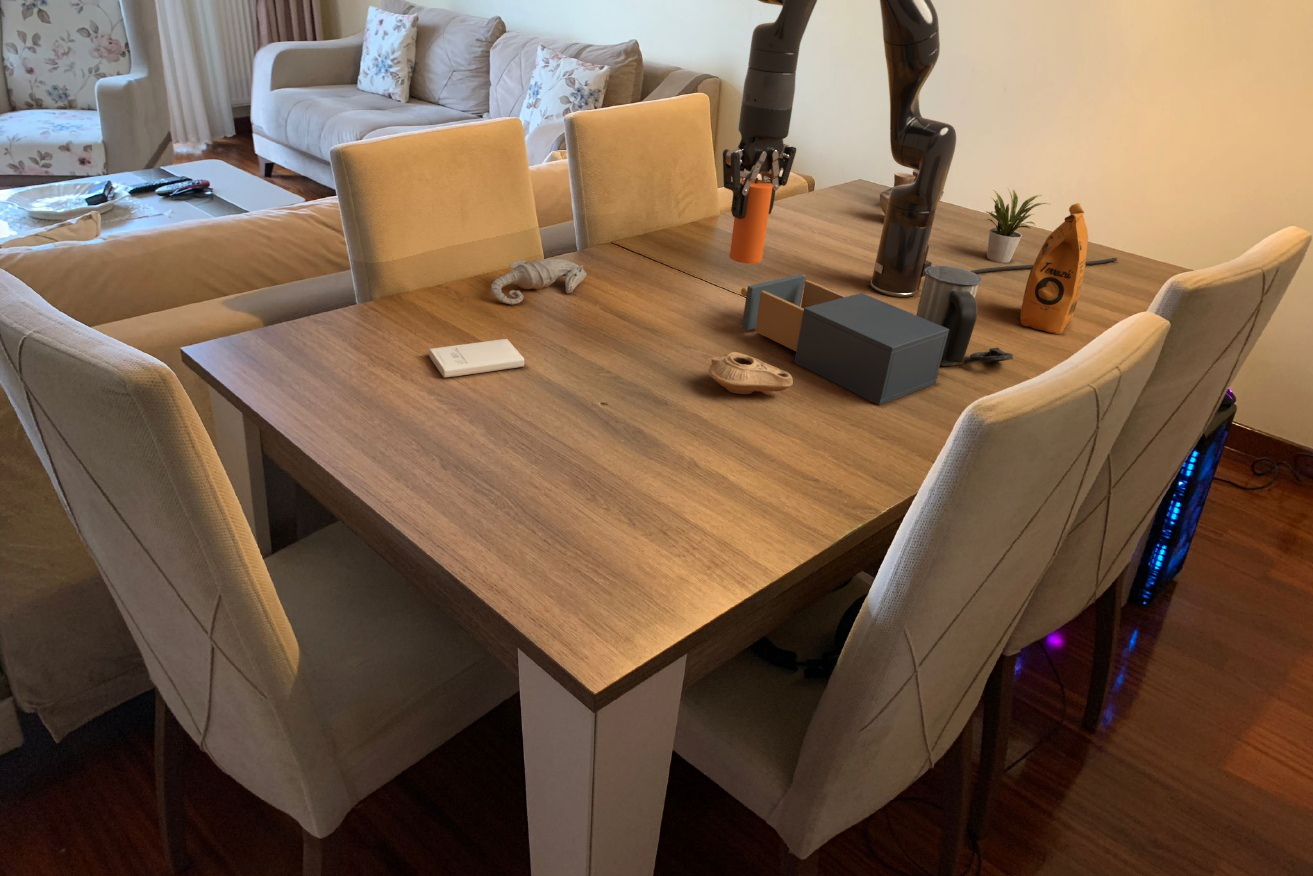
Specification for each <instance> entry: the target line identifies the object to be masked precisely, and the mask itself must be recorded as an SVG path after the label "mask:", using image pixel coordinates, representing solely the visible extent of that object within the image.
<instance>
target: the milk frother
mask: <svg viewBox="0 0 1313 876" xmlns="http://www.w3.org/2000/svg"><path fill="white" fill-rule="evenodd" d="M971 271H972V270H968V269H964V268H961V267H960V268H959V267H957V266H956V267H955V266H949V265H931V266H930V267H927V268H926V269H925V273H926V275H925V276H924V279H923V283H922V288H921V293H920V296H919V301H918V305H917V311H916V314H915V315H916V316H919V317H921V318H924V319H926V320H928V321H931V322H933V323H936V324H938V325H940V326H943V327H945V328H948V329H949V332H948V336H947V340H946V344H945V348H944V352H943V355H942V359H941V363H940V366H941V367H952V366H956V365H958V364H960V363H962V362H989V363H990V364H997V363H1000V362H1004V361H1011V360H1013V359H1014V354H1013V353H1010V352H1005V351H1003V350H1001V349H1000V347H990V348H989V349H988V350H987V351H980V352H979V351H978V352H973V353H971V354H969V356H966V354H967V350H968V347H969V344H970V341H971V338H972V335H973V332H974V328H975V326H976V322H977V317H978V304H977V301H976V295H977V292H978V287H979V284H980V283H982V280H983V279H982V278H981V276H980V275H979V274H978V273H976V274H975V273H973V272H971Z"/></svg>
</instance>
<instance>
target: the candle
mask: <svg viewBox="0 0 1313 876" xmlns="http://www.w3.org/2000/svg"><path fill="white" fill-rule="evenodd" d="M744 181H745V178H744V179H743V180H742V183H741V185H742V186H743V183H744ZM772 188H773V185H772V184H771V183H769V182H767V181H763V180H762V179H759V178H758V177H757V178H756V180H755V181H753V182H752V183H751V186H750V188H749V191H748V193H747V194H746V195H748V199H747V206H746V214H745V218H743V219H738V218H736V217H733V227H732V232H731V233H732V234H731V242H730V250H729V258H730V259H731V260H732V261H734V262H737V263H742V264H750V265H751V264H754V265H755V264H759V263H761V262H762V260H763V255H764V247H765V240H766V234H767V229H768V227H767V226H768V221H769V215H770V214H769V208H770V201H771V194H772Z"/></svg>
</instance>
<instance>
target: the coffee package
mask: <svg viewBox="0 0 1313 876" xmlns="http://www.w3.org/2000/svg"><path fill="white" fill-rule="evenodd" d="M1068 212H1069V215H1068V216H1065V217H1064V221H1063V222H1062V223H1061V224H1059V226H1058V227H1056V228H1055V229H1054V230H1053V231H1052V232H1051V233H1050V234H1049V235H1048V236H1046V239H1045V241H1044V242H1043V244H1042V245H1041V248H1040V250H1039V251H1038V254H1037V257H1036V259H1035V260H1034V263H1033V264H1032V265H1033V267H1032V268H1030V271H1029V274H1028V278H1027V281H1026V285H1025V289H1024V294H1023V298H1022V304H1021V309H1020V316H1019V317H1020V323H1021V325H1022V326H1024V327H1030V328H1032V329H1034V330H1038V331H1044V332H1047V333H1050V334H1051V333H1052V334H1056V335H1060V334H1062V333H1063V332H1064V330H1065V329H1066V328H1067V326H1069V324H1070V323H1071V322H1072V320H1073V317H1074V314H1075V312H1076V308H1077V304H1078V301H1079V298H1080V294H1081V290H1082V285H1083V282H1084V276H1085V270H1086V266H1087V265H1086V262H1087V252H1088V243H1089V232H1088V227H1087V225H1086V222H1085V218H1084V214H1085V212H1084V209H1083V207H1082V206H1081V204H1080V203H1073V204H1071V205H1070V207H1069V208H1068Z"/></svg>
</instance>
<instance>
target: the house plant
mask: <svg viewBox="0 0 1313 876" xmlns="http://www.w3.org/2000/svg"><path fill="white" fill-rule="evenodd" d="M1006 189H1007V191H1008V193H1009V195H1010V200H1011V201H1010V202H1011V205H1009V203H1007V204H1006V205H1005V203H1004V202H1005V201H1004V200H1003V198H1002V196H1001V195H1000V194H999V193H998V192H997V191H996V190H994V189H992V190H993V192H994V194H995V196H996V197H997V198H996V199H994V198H992V197H991V200H992V201H993V202H994V212H993V211H985V213H987V214H989V215H990V216H991V217H992V218H993V219H995V220H996V221H997V224H996V223H995V221H994V220H993V219H992V218H985V219H984V221H989V222H992V223H993V225H995V227H994V228H993V227H992V228H990V229H989V234H988V244H987V253H986V259H988V260H990V261H993V262H996V263H1002V264H1003V263H1004V264H1006V263H1010V262H1011V260H1012V258H1013V256H1014V254H1015V252H1016V249H1017V247H1018V245H1019V243H1020V241H1021V239H1022V237H1023V235H1022V233H1021V232H1018V231H1017V230H1018V229H1020V228H1025V229H1029V230H1031V231H1033V229H1032V228H1031V227H1030V226H1028V225H1025V224H1031V225H1033V226H1036V223H1035V222H1033V221H1025V220H1027V219H1028V218H1030V217H1032V216H1033V215H1035V213H1029V212H1030V211H1032V209H1034V208H1036V207H1038V206H1041V205H1050V203H1049V202H1037V203H1034V202H1033V201H1034V200H1035V199H1037V198H1038V197H1041V196H1043V194H1036V195H1033V196H1031V197H1029V198H1027V199H1026V200H1025V201H1023V202H1022V204H1021V205H1020V208H1019V209H1018V210H1017V207H1018V202H1019V197H1018V194H1017V192H1016V191H1015V189H1012V192H1011V191H1010V189H1009V188H1008V187H1006ZM1032 204H1033V205H1032ZM1010 206H1011V208H1010ZM1028 213H1029V214H1028ZM1024 221H1025V222H1024ZM1023 222H1024V223H1023Z"/></svg>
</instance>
